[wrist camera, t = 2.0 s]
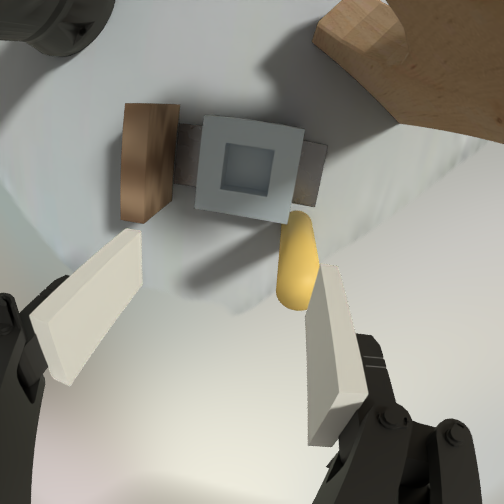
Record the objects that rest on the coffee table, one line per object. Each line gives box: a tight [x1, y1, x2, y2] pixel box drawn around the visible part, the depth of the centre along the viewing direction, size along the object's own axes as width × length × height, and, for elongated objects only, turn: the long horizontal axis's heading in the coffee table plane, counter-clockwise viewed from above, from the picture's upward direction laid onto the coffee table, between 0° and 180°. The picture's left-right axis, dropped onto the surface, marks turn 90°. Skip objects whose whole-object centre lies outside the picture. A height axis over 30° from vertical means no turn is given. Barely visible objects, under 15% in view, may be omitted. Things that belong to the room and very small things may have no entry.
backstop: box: [121, 103, 180, 224], centre depth 34 cm, size 13×3×9 cm, turn 172°
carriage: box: [194, 115, 305, 224], centre depth 35 cm, size 11×11×4 cm
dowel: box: [276, 211, 320, 311], centre depth 33 cm, size 4×4×16 cm
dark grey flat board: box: [174, 124, 327, 207], centre depth 37 cm, size 8×19×1 cm, turn 82°
